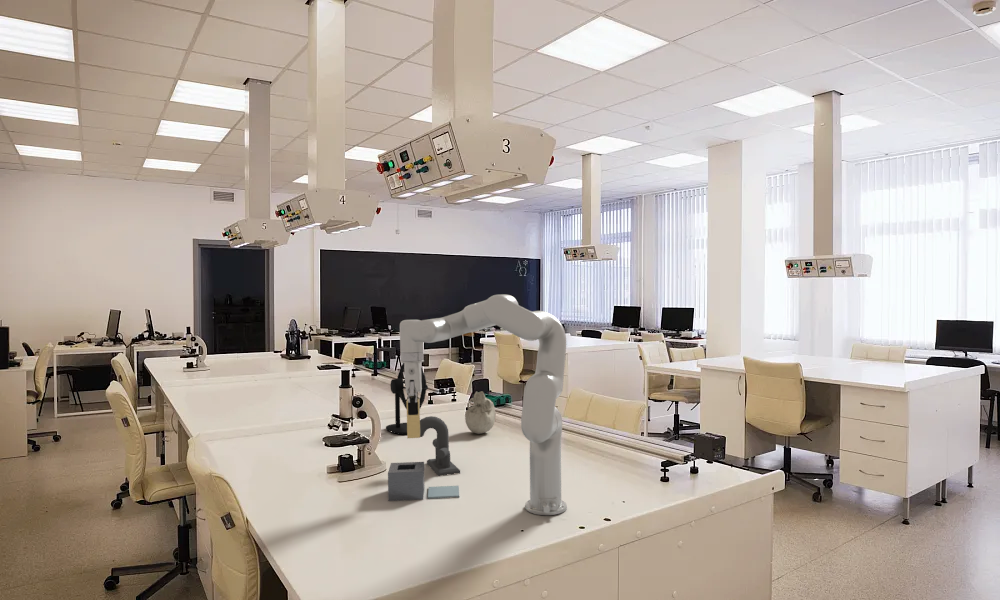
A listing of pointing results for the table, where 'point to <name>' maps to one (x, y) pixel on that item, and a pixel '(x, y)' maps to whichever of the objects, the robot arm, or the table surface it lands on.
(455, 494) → the rubber pad
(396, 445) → the table surface
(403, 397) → the desk fan
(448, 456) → the faucet
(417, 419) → the brass peg
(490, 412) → the skull
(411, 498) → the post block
